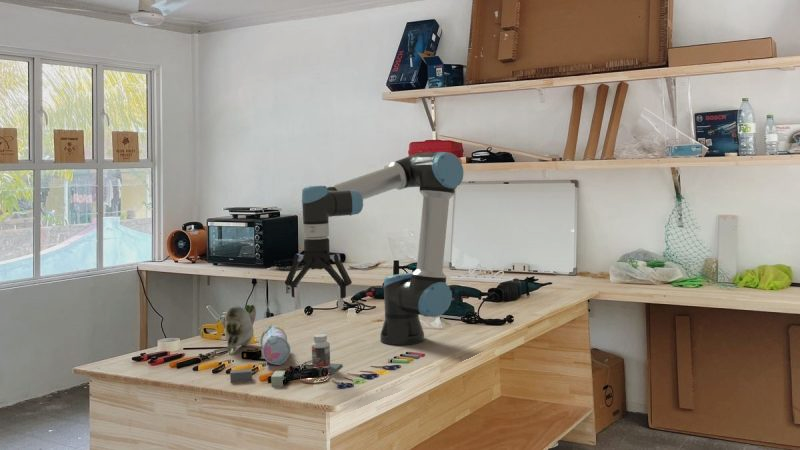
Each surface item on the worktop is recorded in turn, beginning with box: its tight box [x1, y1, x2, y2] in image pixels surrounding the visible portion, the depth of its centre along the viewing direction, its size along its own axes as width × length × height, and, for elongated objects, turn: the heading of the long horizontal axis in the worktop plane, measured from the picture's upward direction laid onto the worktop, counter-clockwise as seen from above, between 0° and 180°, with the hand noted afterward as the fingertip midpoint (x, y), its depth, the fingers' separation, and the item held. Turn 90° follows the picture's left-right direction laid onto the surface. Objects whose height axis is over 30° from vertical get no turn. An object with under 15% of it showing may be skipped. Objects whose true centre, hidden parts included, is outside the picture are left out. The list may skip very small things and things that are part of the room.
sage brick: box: [270, 370, 287, 387], centre depth 230 cm, size 6×3×3 cm, turn 178°
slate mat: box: [328, 362, 343, 375], centre depth 244 cm, size 10×10×1 cm
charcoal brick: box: [229, 368, 253, 384], centre depth 234 cm, size 6×3×3 cm, turn 100°
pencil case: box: [259, 324, 291, 366], centre depth 259 cm, size 21×9×10 cm, turn 12°
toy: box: [224, 304, 257, 355], centre depth 276 cm, size 8×15×20 cm
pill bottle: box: [311, 333, 331, 368], centre depth 244 cm, size 5×5×10 cm
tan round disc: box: [300, 374, 330, 384], centre depth 233 cm, size 8×8×1 cm
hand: (319, 308), depth 243 cm, fingers open, 13 cm apart
